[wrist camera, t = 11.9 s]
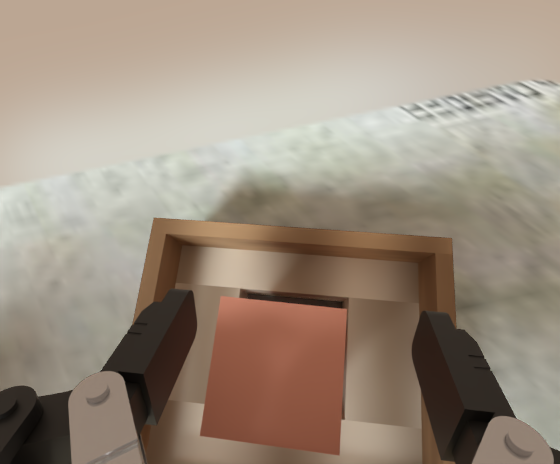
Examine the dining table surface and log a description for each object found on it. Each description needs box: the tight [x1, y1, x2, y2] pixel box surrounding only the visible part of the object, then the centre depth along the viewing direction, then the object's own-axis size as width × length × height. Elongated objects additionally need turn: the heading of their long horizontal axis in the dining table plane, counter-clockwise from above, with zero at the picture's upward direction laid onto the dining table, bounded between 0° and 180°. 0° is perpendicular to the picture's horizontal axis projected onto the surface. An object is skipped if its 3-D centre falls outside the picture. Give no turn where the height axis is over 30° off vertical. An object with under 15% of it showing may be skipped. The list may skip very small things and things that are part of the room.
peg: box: [200, 296, 347, 456], centre depth 15 cm, size 4×4×11 cm
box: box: [132, 218, 456, 464], centre depth 18 cm, size 15×14×6 cm
